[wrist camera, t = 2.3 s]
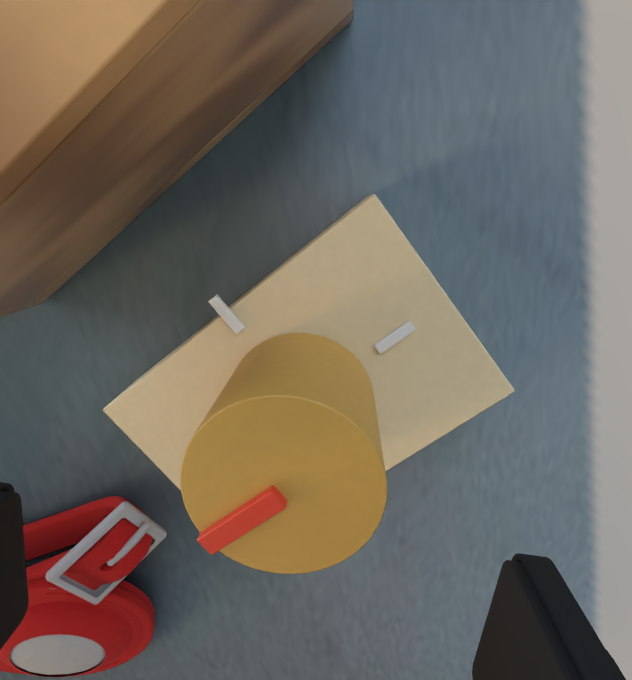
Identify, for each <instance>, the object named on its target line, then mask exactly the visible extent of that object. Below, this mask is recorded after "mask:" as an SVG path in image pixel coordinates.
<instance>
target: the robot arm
mask: <svg viewBox="0 0 632 680" xmlns="http://www.w3.org/2000/svg"><path fill="white" fill-rule="evenodd" d="M28 604H29V597H28V584H27V571H26V558H25V546H24V533H23V520H22V507H21V498H20V495H19V494H18V493H15V492H14V488H13V486H12V485H11V484H8V483H2V482H0V650H1V648H2V647H3V646H4V644H5V643H6V642H7V641H8V639H9V638H10V637H11V635H12V634H13V633H14V631H15V630H16V629H17V627H18V626H19V625H20V623H21V622H22V620H23V618H24V616H25V614H26V612H27V609H28ZM472 675H473V680H626V679H625V677H624V676H623V674H622V672H621V671H620V669H619V667H618V666H617V664H616V663H615V661H614V659H613V658H612V657H611V655H610V654H609V653H608V651H607V650H606V649H605V648H604V646H603V645H602V643H601V641H600V640H599V638H598V636H597V635H596V633H595V631H594V630H593V628H592V626H591V625H590V623H589V621H588V620H587V618H586V616H585V615H584V613H583V611H582V610H581V608H580V606H579V605H578V603H577V601H576V600H575V598H574V596H573V595H572V593H571V591H570V590H569V588H568V586H567V585H566V583H565V581H564V580H563V578H562V576H561V575H560V573H559V571H558V570H557V568H556V566H555V565H554V563H553V562H552V561H551V559H549V558H547V557H541V556H534V555H526V554H515V555H514V556H513V558H512V560H511V561H510V560H506V561H505V562H504V563H503V566H502V569H501V572H500V575H499V579H498V582H497V585H496V589H495V592H494V595H493V599H492V602H491V606H490V609H489V612H488V616H487V619H486V622H485V626H484V629H483V632H482V636H481V639H480V642H479V646H478V649H477V652H476V656H475V659H474V663H473V670H472Z"/></svg>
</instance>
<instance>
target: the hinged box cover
mask: <svg viewBox="0 0 632 680" xmlns="http://www.w3.org/2000/svg"><path fill="white" fill-rule="evenodd" d="M198 1H199V0H0V204H1V203H2V202H3V201H4V200H5V199H6V198H7V197H8V196H9V195H10V194H11V193H12V192H13V191H14V190H15V188H16V187H17V186H18V185H19V184H20V183H21V182H22V181H23V180H24V179H25V178H26V177H27V176H28V175H29V174H30V173H31V172H32V171H33V170H34V169H35V168H36V167H37V166H38V165H39V164H40V163H41V162H42V161H43V160H44V159H45V158H46V157H47V156H48V155H49V154H50V153H51V152H52V151H53V149H54V148H55V147H56V146H57V145H58V144H59V143H60V142H61V141H62V140H63V139H64V138H65V137H66V136H67V135H68V134H69V133H70V132H71V131H72V130H73V129H74V128H75V127H76V126H77V125H78V124H79V123H80V122H81V121H82V120H83V119H84V118H85V117H86V116H87V115H88V114H89V113H90V112H91V111H92V109H93V108H94V107H95V106H96V105H97V104H98V103H99V102H100V101H101V100H102V99H103V98H104V97H105V96H106V95H107V94H108V93H109V92H110V91H111V90H112V89H113V88H114V87H115V86H116V85H117V84H118V83H119V82H120V81H121V80H122V79H123V78H124V77H125V76H126V75H127V74H128V73H129V72H130V71H131V69H132V68H133V67H134V66H135V65H136V64H137V63H138V62H139V61H140V60H141V59H142V58H143V57H144V56H145V55H146V54H147V53H148V52H149V51H150V50H151V49H152V48H153V47H154V46H155V45H156V44H157V43H158V42H159V41H160V40H161V39H162V38H163V37H164V36H165V35H166V34H167V33H168V32H169V31H170V29H171V28H172V27H173V26H174V25H175V24H176V23H177V22H178V21H179V20H180V19H181V18H182V17H183V16H184V15H185V14H186V13H187V12H188V11H189V10H190V9H191V8H192V7H193V6H194V5H195V4H196V3H197V2H198Z"/></svg>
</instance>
